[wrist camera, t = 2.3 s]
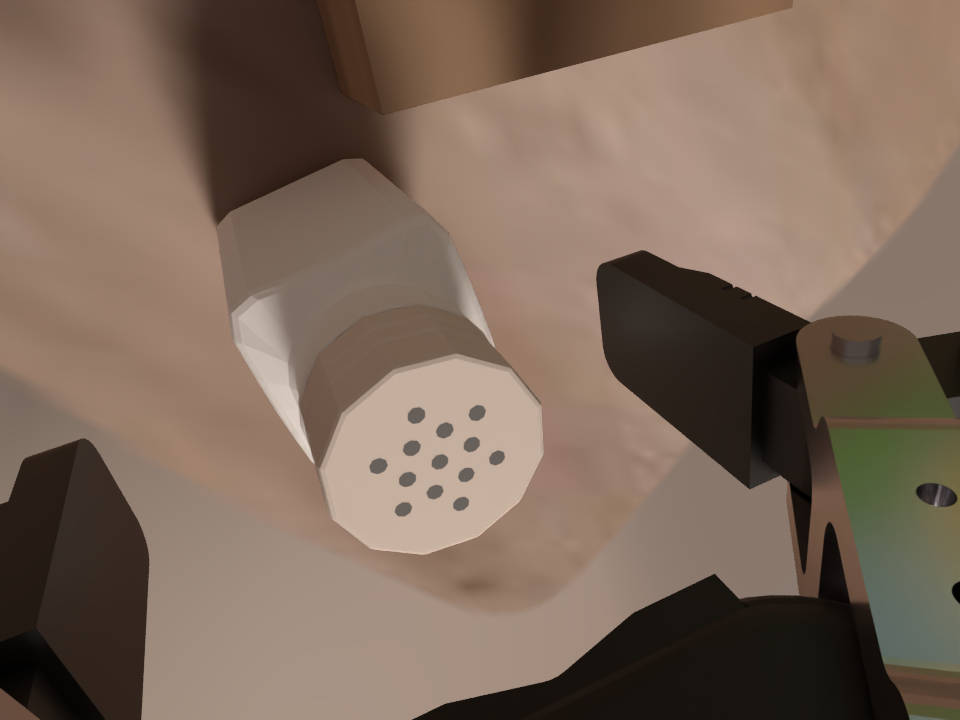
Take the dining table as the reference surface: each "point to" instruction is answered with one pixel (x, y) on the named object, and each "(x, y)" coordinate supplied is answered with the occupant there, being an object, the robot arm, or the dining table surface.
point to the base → (497, 40)
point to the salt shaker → (379, 358)
